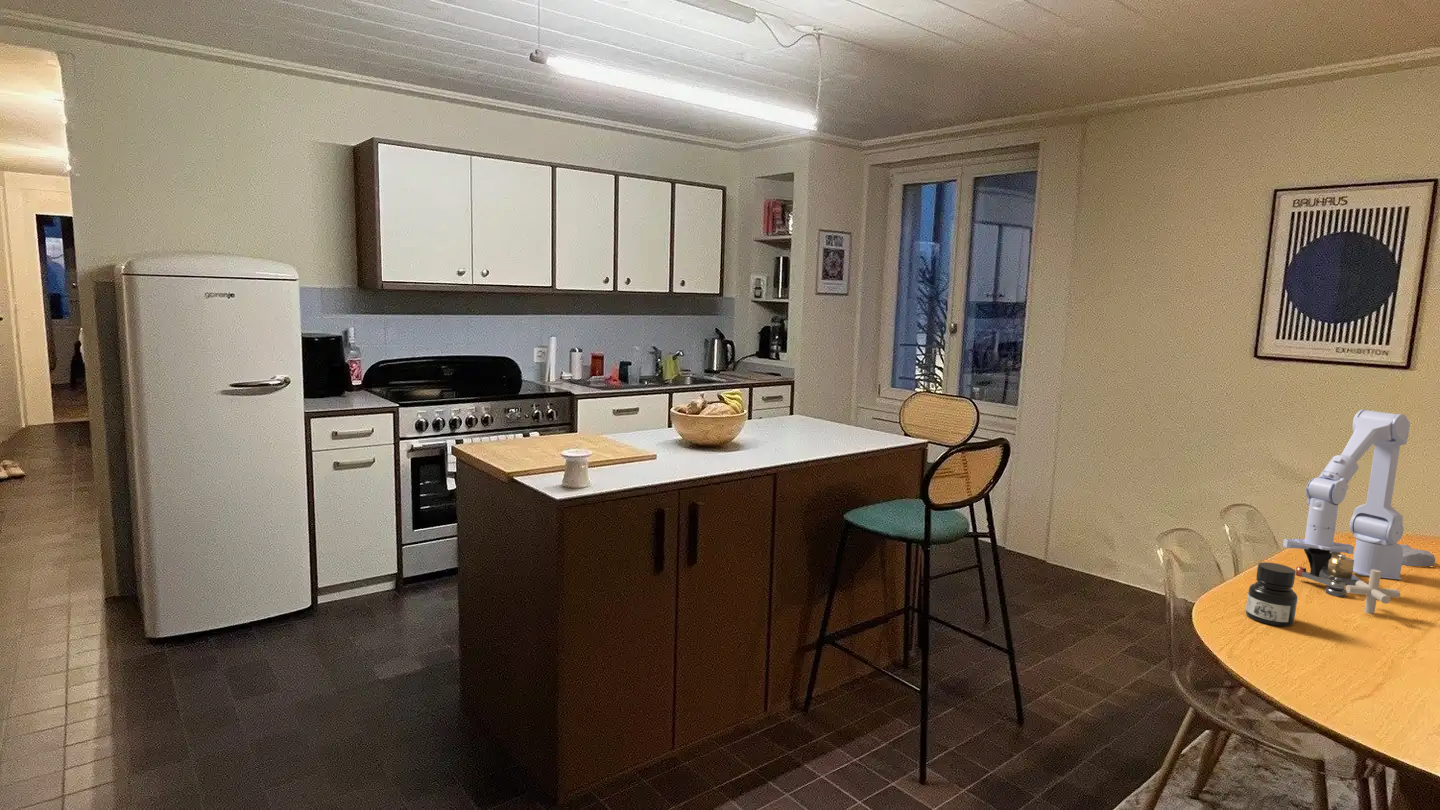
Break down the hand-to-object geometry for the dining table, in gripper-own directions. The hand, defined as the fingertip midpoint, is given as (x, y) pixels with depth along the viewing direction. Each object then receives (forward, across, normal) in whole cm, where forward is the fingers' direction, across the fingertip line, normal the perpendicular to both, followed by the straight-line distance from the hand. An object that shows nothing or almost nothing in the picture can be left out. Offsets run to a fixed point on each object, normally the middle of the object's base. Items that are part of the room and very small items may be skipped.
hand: (1313, 577), depth 200 cm
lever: (0, 0, -3) cm, 3 cm away
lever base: (+2, +2, -6) cm, 7 cm away
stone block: (+3, +35, +32) cm, 48 cm away
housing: (0, +8, +6) cm, 10 cm away
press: (+2, +8, +9) cm, 12 cm away
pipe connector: (+2, +4, -18) cm, 18 cm away
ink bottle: (+2, -21, -30) cm, 37 cm away
